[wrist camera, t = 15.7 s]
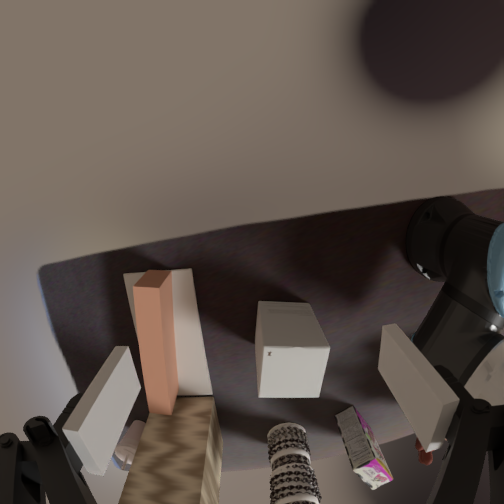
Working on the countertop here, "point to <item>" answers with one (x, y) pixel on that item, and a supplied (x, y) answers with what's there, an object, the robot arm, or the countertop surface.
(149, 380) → the block
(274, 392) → the supplement box
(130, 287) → the mat
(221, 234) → the countertop surface
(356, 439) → the candy bar box
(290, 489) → the decorative candle
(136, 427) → the smoothie
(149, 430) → the stand
